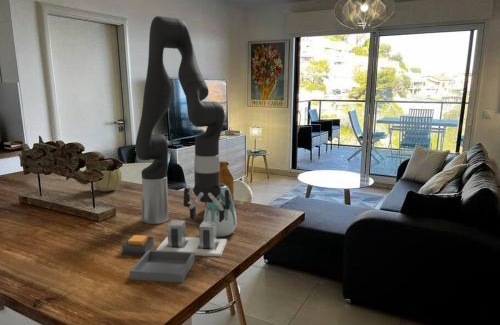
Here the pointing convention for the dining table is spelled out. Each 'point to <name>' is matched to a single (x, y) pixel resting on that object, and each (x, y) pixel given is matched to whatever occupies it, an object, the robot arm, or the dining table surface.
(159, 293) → the dining table surface
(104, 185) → the cantaloupe
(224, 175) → the coffee package
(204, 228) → the block
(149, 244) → the button housing
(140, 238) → the button
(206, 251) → the white slotted plate
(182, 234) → the block
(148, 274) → the tray
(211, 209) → the vase
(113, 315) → the dining table surface
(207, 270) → the dining table surface
